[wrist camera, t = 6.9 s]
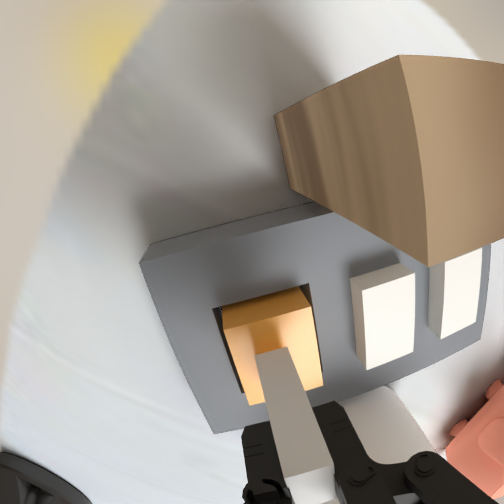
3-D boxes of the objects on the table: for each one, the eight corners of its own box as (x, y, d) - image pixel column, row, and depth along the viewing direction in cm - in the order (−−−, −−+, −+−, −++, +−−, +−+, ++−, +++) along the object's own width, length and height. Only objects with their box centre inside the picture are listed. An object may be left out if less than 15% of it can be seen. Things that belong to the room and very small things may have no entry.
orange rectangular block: (243, 368, 19) (249, 405, 16) (220, 297, 17) (223, 329, 14) (307, 350, 19) (323, 385, 16) (293, 278, 17) (311, 306, 14)
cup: (275, 461, 24) (297, 555, 15) (289, 382, 21) (330, 502, 12) (376, 445, 25) (416, 522, 16) (409, 366, 22) (476, 451, 13)
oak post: (290, 188, 17) (427, 267, 6) (273, 115, 16) (398, 54, 4) (357, 173, 17) (535, 224, 6) (343, 104, 16) (520, 67, 4)
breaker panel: (212, 403, 21) (214, 451, 17) (150, 244, 17) (131, 275, 13) (458, 321, 22) (491, 349, 17) (459, 170, 18) (507, 179, 13)
